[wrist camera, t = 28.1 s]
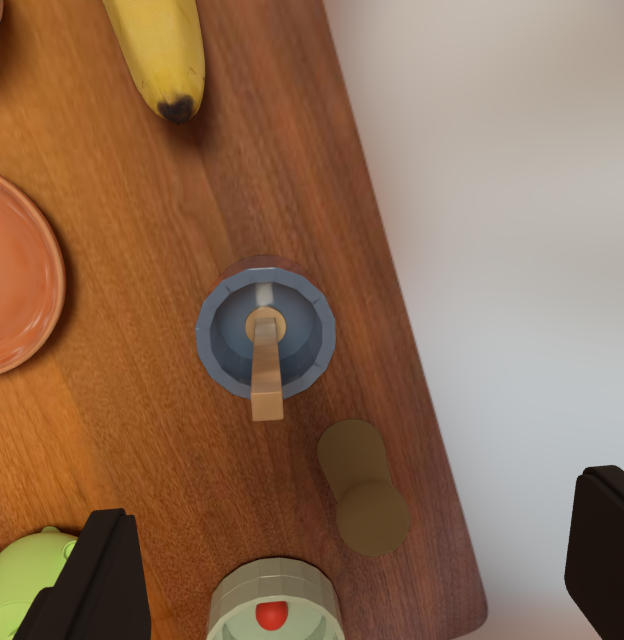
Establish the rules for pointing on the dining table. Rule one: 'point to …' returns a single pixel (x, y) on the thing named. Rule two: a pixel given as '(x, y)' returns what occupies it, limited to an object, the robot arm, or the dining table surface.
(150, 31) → the banana
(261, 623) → the ball
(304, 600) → the bowl
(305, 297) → the holder
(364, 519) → the pepper shaker
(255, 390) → the stick
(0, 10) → the cup
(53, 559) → the teapot
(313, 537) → the dining table surface
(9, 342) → the saucer
